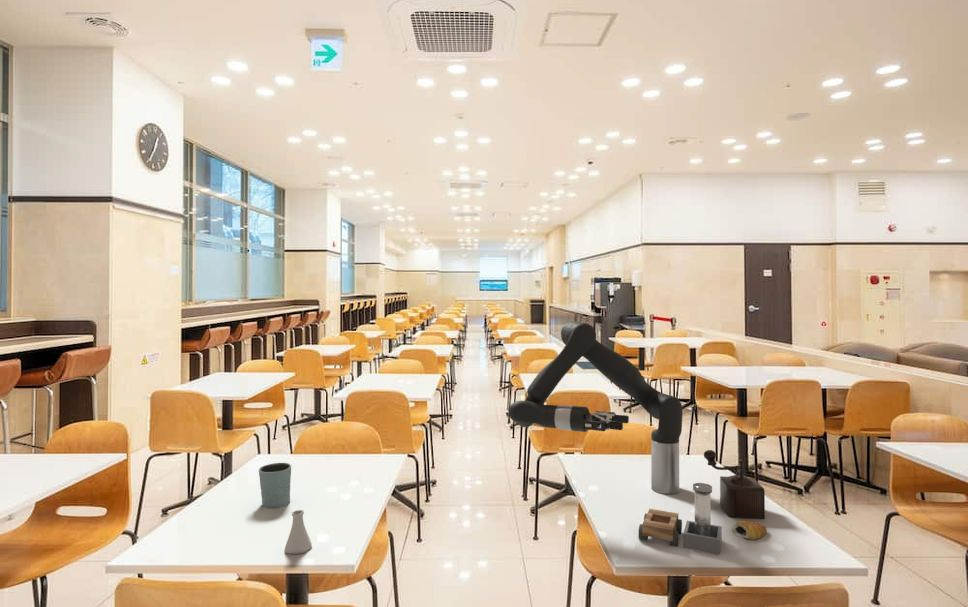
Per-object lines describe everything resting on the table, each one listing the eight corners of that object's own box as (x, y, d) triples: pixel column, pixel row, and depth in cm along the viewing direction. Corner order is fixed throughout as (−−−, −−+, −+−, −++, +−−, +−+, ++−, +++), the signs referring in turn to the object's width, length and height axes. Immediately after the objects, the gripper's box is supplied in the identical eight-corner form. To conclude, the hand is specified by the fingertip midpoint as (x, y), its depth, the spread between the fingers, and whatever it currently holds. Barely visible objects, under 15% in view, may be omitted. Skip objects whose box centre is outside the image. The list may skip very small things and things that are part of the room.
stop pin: (694, 535, 147) (693, 481, 147) (712, 538, 145) (712, 484, 145) (692, 542, 143) (692, 487, 143) (711, 546, 141) (711, 490, 141)
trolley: (645, 521, 159) (645, 505, 159) (682, 528, 154) (682, 511, 154) (636, 541, 146) (636, 523, 146) (676, 549, 142) (676, 530, 141)
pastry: (752, 526, 156) (752, 513, 156) (773, 536, 150) (773, 522, 149) (729, 533, 151) (729, 519, 151) (750, 543, 145) (750, 529, 145)
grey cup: (280, 510, 169) (280, 473, 169) (252, 508, 171) (251, 471, 171) (297, 498, 179) (297, 463, 179) (271, 496, 181) (270, 461, 181)
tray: (687, 534, 150) (686, 520, 150) (721, 540, 146) (721, 526, 146) (683, 548, 142) (683, 533, 142) (720, 555, 138) (720, 539, 138)
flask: (315, 542, 147) (315, 506, 147) (307, 554, 140) (307, 517, 140) (289, 542, 147) (288, 507, 147) (280, 555, 140) (279, 517, 140)
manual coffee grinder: (752, 505, 171) (752, 449, 170) (765, 519, 160) (765, 460, 160) (702, 503, 173) (701, 448, 173) (711, 517, 162) (711, 458, 162)
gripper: (564, 410, 156) (620, 415, 149) (578, 401, 169) (630, 405, 162) (565, 436, 157) (620, 441, 149) (578, 424, 169) (630, 429, 162)
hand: (625, 422), depth 156 cm, fingers open, 8 cm apart
